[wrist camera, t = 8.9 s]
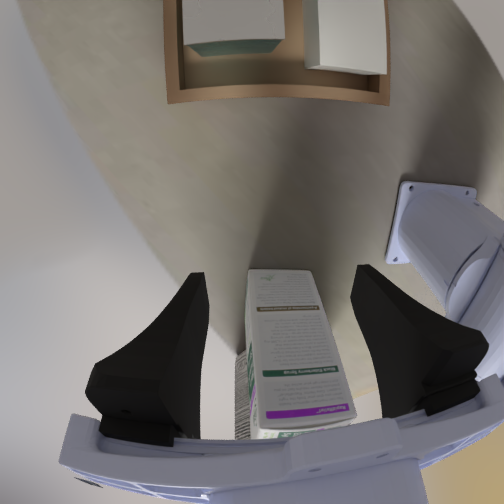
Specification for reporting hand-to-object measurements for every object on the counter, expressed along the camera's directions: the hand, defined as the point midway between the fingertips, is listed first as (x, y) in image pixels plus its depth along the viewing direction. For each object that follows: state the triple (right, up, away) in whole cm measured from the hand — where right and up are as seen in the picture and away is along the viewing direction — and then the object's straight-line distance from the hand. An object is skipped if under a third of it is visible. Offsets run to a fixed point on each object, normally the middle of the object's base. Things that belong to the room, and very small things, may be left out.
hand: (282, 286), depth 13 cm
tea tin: (-2, +16, +1) cm, 16 cm away
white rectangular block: (+4, +17, +1) cm, 17 cm away
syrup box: (+1, -2, +13) cm, 14 cm away
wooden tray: (0, +17, +1) cm, 17 cm away
